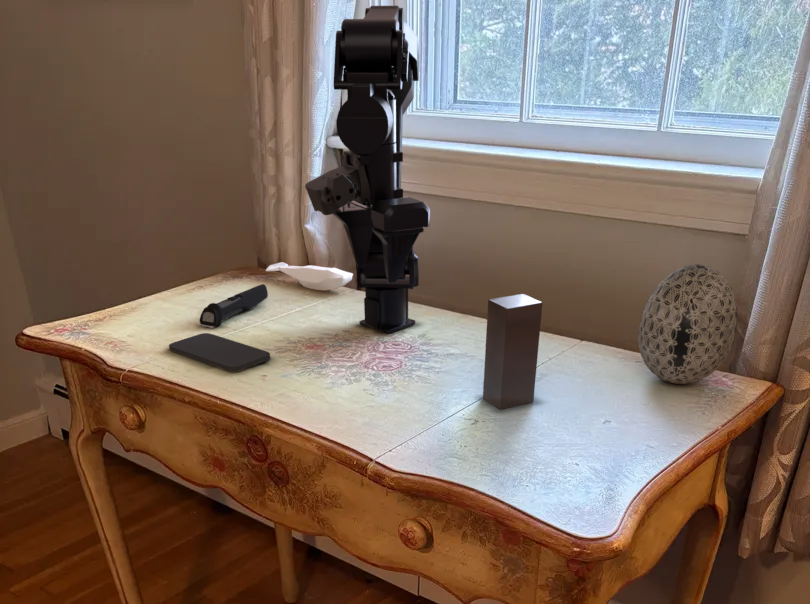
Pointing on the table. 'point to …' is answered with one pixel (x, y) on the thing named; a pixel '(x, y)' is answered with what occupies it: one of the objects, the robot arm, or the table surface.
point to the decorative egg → (688, 325)
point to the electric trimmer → (232, 306)
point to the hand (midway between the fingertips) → (375, 273)
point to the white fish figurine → (314, 275)
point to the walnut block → (511, 350)
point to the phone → (219, 352)
